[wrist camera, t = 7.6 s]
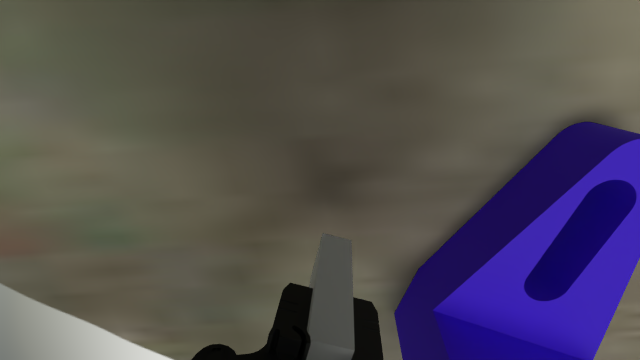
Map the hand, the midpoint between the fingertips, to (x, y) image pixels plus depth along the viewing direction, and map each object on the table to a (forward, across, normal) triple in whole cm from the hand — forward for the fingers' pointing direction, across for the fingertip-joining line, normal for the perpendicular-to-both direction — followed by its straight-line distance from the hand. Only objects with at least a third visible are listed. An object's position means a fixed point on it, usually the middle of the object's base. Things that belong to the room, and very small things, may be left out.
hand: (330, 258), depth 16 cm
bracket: (+7, +13, 0) cm, 15 cm away
